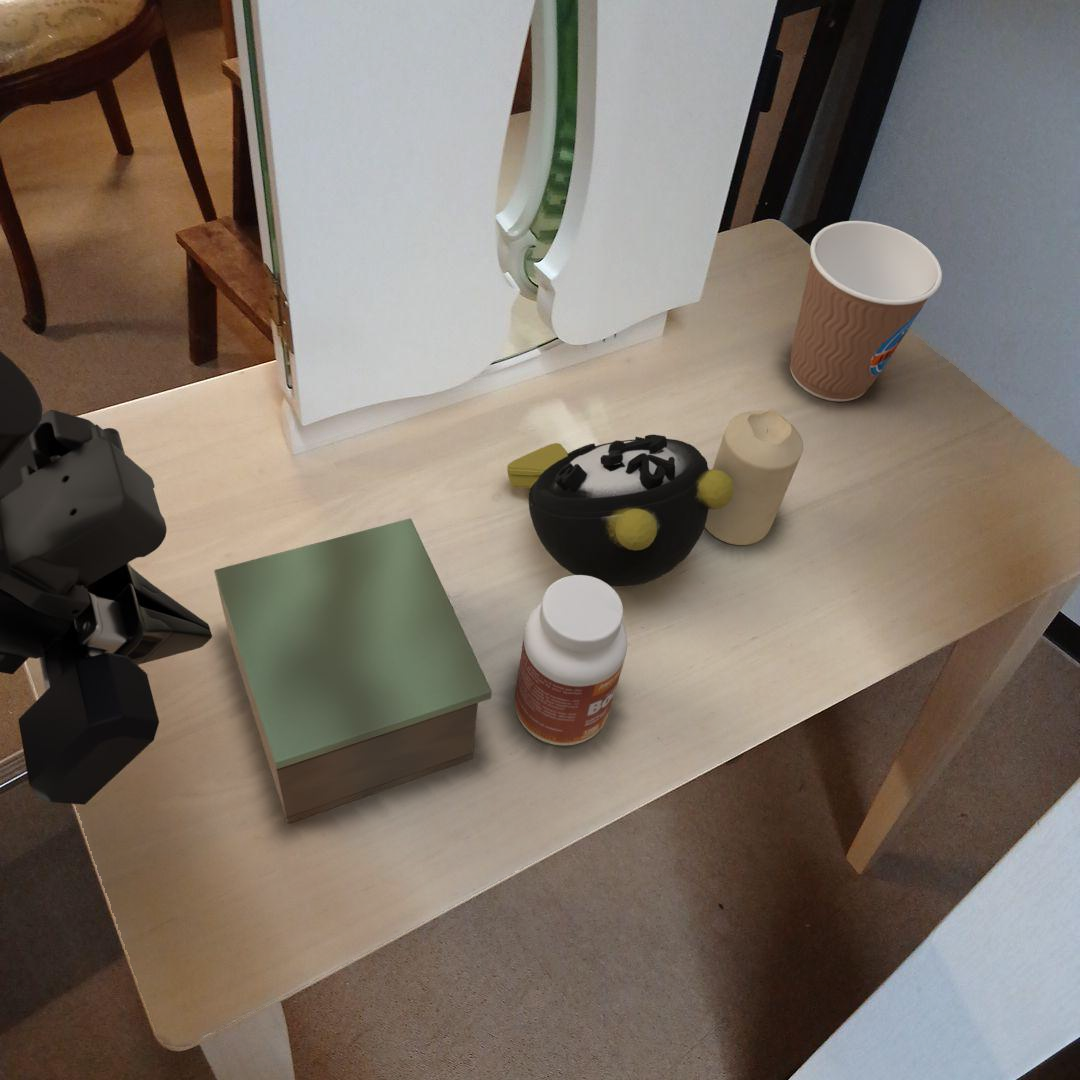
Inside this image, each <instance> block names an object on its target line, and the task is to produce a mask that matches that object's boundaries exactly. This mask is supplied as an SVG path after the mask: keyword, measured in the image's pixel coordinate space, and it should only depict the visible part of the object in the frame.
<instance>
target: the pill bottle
mask: <svg viewBox="0 0 1080 1080" xmlns="http://www.w3.org/2000/svg"><path fill="white" fill-rule="evenodd" d="M623 618H624V607H623V602H622V600H621V597H620V595H619V594H618V593H617V591H616V590H615V589H614V588H613V587H611V586H609V585H608V584H607V583H605V582H603V581H602V580H600V579H597V578H594V577H591V576H585V575H574V574H572V575H568V576H564V577H560V578H559V579H557V580H556V581H554V582H552V583H551V584H550V586H549V587H548V588H547V589H546V591H545V592H544V594H543V597H542V601H541V603H540V604H538V605H537V606H536V608H535V609H533V611H532V612H531V613H530V615H529V616H528V619H527V621H526V624H525V627H524V633H523V638H522V645H521V651H520V658H519V665H518V669H517V670H518V671H517V676H516V677H517V678H516V684H515V689H514V708H515V713H516V715H517V717H518V720H519V721H520V723H521V724H522V726H523V727H524V729H526V731H528V733H529V734H531V735H532V736H533V737H535V738H536V739H538V740H540V741H542V742H544V743H547V744H551V745H556V746H573V745H574V746H575V745H578V744H582V743H584V742H586V741H588V740H590V739H592V738H593V737H594V736H595V735H597V734H598V733H599V732H600V731H601V730H602V728H603V727H604V725H605V723H606V722H607V720H608V716H609V715H610V711H611V708H612V704H613V700H614V697H615V694H616V690H617V688H618V684H619V680H620V678H621V674H622V669H623V665H624V663H625V659H626V655H627V650H628V635H627V631H626V627H625V625H624V622H623Z"/></svg>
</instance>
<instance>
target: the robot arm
mask: <svg viewBox="0 0 1080 1080" xmlns="http://www.w3.org/2000/svg"><path fill="white" fill-rule="evenodd" d="M43 410H44V409H43V404H42V399H41V397H40V396H39V394H38V392H37V389H36V387H35V386H34V384H33V383H32V381H31V380H30V379H29V377H28V376H27V375H26V374H25V372H24V371H23V370H22V369H21V368H20V367H19V366H18V365H17V364H16V363H15V362H14V361H13V360H12V359H11V358H10V357H8V356H7V355H6V354H5V353H3V352H2V351H1V350H0V673H2V674H7V675H15V673H16V672H17V671H18V670H19V669H20V668H21V667H22V665H23V664H25V662H27V660H28V659H39V664H40V669H41V673H42V679H43V684H44V689H45V691H44V692H43V693H42V694H41V696H40V697H39V698H37V699H36V700H35V702H33V704H31V705H30V707H29V708H28V709H27V710H25V712H23V714H21V715H20V717H19V718H17V719H18V720H17V721H18V726H19V727H18V728H19V732H20V738H21V742H22V743H21V744H22V750H23V756H24V762H25V769H26V774H27V780H28V785H29V787H30V788H31V790H32V792H33V793H34V795H35V797H36V798H37V799H40V800H42V801H47V802H50V803H55V804H57V803H58V804H68V805H69V804H70V805H81V806H82V805H83V806H85V805H86V804H87V803H88V802H90V801H91V800H92V798H94V797H95V796H96V795H97V794H98V793H100V791H101V790H102V789H103V788H104V787H106V786H107V785H108V784H109V783H110V782H111V781H112V780H113V779H115V777H116V776H117V775H118V774H120V773H121V771H123V770H124V769H125V768H126V767H127V766H128V765H129V764H130V763H131V762H132V761H133V760H134V759H136V758H137V757H138V756H139V755H140V754H141V753H142V752H143V751H144V750H145V749H147V747H149V746H150V744H152V743H153V742H154V741H155V737H156V734H157V732H158V731H157V730H158V727H159V724H160V720H159V716H158V711H157V709H156V704H155V700H154V696H153V692H152V689H151V684H150V680H149V676H148V674H147V672H146V671H145V670H143V669H142V668H141V667H140V665H143V664H147V663H151V662H155V661H158V660H161V659H165V658H168V657H172V656H175V655H180V654H184V653H187V652H190V651H194V650H197V649H201V648H203V647H204V646H205V645H207V643H208V642H209V641H210V640H211V639H213V633H212V631H211V628H210V625H209V623H207V622H206V621H205V620H204V619H202V618H200V617H199V616H198V615H196V614H195V613H194V612H192V611H191V610H189V609H188V608H187V607H185V606H184V605H182V604H181V603H180V602H178V601H177V600H175V599H174V598H172V597H171V596H169V595H168V594H167V593H165V592H164V591H162V590H161V589H160V588H158V587H157V586H156V585H154V584H153V583H151V581H149V580H147V578H146V577H144V576H143V575H142V574H140V573H139V572H138V571H136V569H135V568H133V567H132V566H131V564H130V563H131V562H132V561H133V560H135V559H137V558H145V557H146V556H148V555H150V554H152V553H153V552H155V551H157V549H158V548H159V547H160V546H161V545H162V543H164V541H165V538H166V535H167V530H168V529H167V524H166V520H165V518H164V516H163V515H162V513H161V510H160V507H159V506H160V505H159V503H158V499H157V497H156V496H157V495H156V493H155V490H154V489H155V483H154V480H153V477H152V476H151V475H150V474H149V473H148V472H146V471H145V470H144V469H143V468H142V467H140V466H139V465H138V464H137V463H136V462H135V461H134V460H132V459H131V458H130V457H129V456H128V455H126V454H125V453H126V452H125V449H124V446H123V443H122V439H121V435H120V432H119V431H118V430H117V429H116V428H112V427H106V428H102V427H101V426H100V425H98V424H95V423H94V422H92V421H90V420H89V419H87V418H84V417H80V416H76V415H73V414H69V413H66V412H63V411H59V410H56V409H50V410H48V411H46V412H45V413H43Z"/></svg>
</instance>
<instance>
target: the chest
mask: <svg viewBox="0 0 1080 1080" xmlns="http://www.w3.org/2000/svg"><path fill="white" fill-rule="evenodd" d="M215 581H216V585H217V589H218V593H219V598H220V602H221V606H222V611H223V615H224V620H225V624H226V627H227V628H226V629H227V632H228V637H229V641H230V645H231V647H232V650H233V654H234V657H235V661H236V664H237V667H238V671H239V673H240V676H241V680H242V682H243V686H244V689H245V693H246V696H247V698H248V701H249V705H250V708H251V711H252V714H253V715H252V716H253V718H254V721H255V725H256V728H257V731H258V734H259V737H260V741H261V743H262V747H263V750H264V753H265V757H266V759H267V762H268V763H267V764H268V766H269V769H270V772H271V776H272V779H273V783H274V785H275V788H276V791H277V795H278V797H279V801H280V804H281V807H282V810H283V814H284V817H285V820H286V823H287V824H290V823H293V822H296V821H299V820H302V819H305V818H307V817H310V816H312V815H316V814H319V813H322V812H324V811H327V810H330V809H332V808H337V807H339V806H341V805H344V804H347V803H350V802H353V801H356V800H359V799H361V798H364V797H367V796H370V795H373V794H376V793H378V792H382V791H384V790H387V789H389V788H393V787H395V786H398V785H401V784H404V783H408V782H410V781H412V780H416V779H419V778H421V777H424V776H427V775H430V774H433V773H435V772H438V771H442V770H445V769H447V768H450V767H453V766H455V765H459V764H461V763H464V762H466V761H470V760H472V759H473V756H474V744H475V737H476V726H477V716H478V707H479V703H476V704H473V705H470V706H467V707H464V708H461V709H458V710H455V711H452V712H449V713H446V714H443V715H440V716H437V717H434V718H431V719H428V720H425V721H422V722H419V723H415V724H412V725H409V726H406V727H403V728H400V729H397V730H394V731H391V732H388V733H385V734H382V735H379V736H376V737H373V738H370V739H367V740H364V741H361V742H358V743H355V744H352V745H349V746H346V747H343V748H340V749H337V750H334V751H331V752H328V753H325V754H322V755H319V756H316V757H313V758H310V759H307V760H304V761H301V762H298V763H295V764H292V765H289V766H285V767H282V768H279V769H277V768H276V767H275V763H274V760H273V757H272V754H271V751H270V748H269V744H268V741H267V738H266V735H265V732H264V729H263V725H262V722H261V719H260V716H259V713H258V710H257V706H256V703H255V700H254V697H253V694H252V691H251V687H250V684H249V681H248V678H247V675H246V672H245V669H244V665H243V662H242V659H241V656H240V653H239V650H238V646H237V643H236V640H235V637H234V634H233V631H232V627H231V624H230V621H229V618H228V615H227V612H226V608H225V605H224V602H223V599H222V596H221V593H220V589H219V586H218V583H217V580H216V579H215Z"/></svg>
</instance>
